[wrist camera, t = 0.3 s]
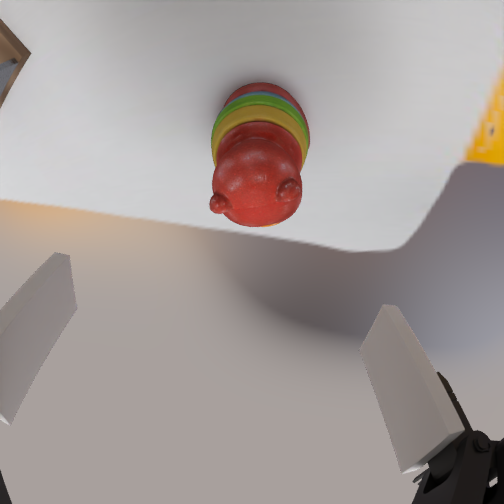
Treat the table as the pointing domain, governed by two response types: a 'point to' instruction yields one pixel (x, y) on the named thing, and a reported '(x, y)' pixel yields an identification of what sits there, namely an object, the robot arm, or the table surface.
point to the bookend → (6, 72)
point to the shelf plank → (11, 55)
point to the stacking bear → (258, 156)
